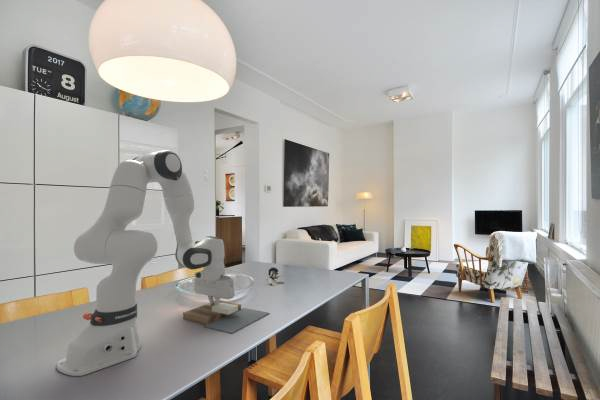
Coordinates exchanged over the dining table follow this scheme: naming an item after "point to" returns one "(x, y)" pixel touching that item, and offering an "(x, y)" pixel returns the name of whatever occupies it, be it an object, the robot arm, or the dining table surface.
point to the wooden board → (205, 313)
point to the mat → (236, 320)
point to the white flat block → (225, 308)
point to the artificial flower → (272, 276)
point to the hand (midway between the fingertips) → (214, 306)
